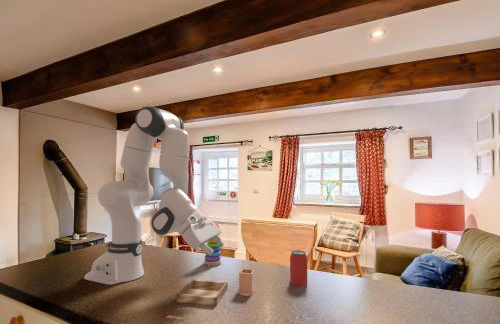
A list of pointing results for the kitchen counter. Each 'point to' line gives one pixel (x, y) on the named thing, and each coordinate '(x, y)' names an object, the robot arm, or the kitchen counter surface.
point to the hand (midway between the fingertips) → (217, 249)
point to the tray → (202, 292)
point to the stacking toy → (213, 254)
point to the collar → (246, 281)
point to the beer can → (298, 268)
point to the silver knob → (248, 294)
